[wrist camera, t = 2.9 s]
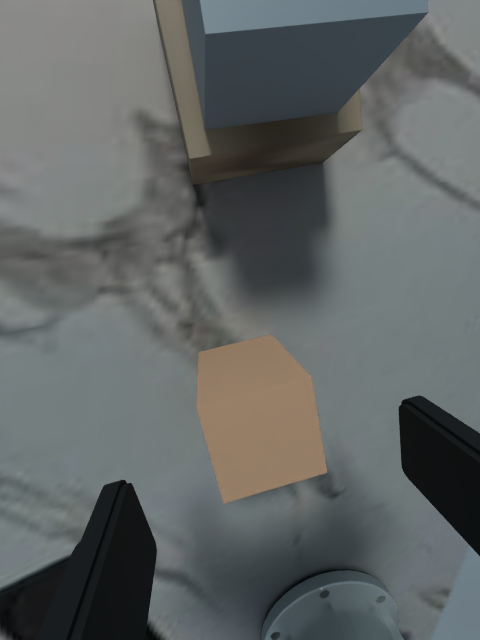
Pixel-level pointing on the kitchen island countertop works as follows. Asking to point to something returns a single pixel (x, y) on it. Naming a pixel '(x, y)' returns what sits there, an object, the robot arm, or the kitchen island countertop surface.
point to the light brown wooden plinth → (245, 140)
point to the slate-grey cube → (289, 54)
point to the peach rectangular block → (258, 417)
